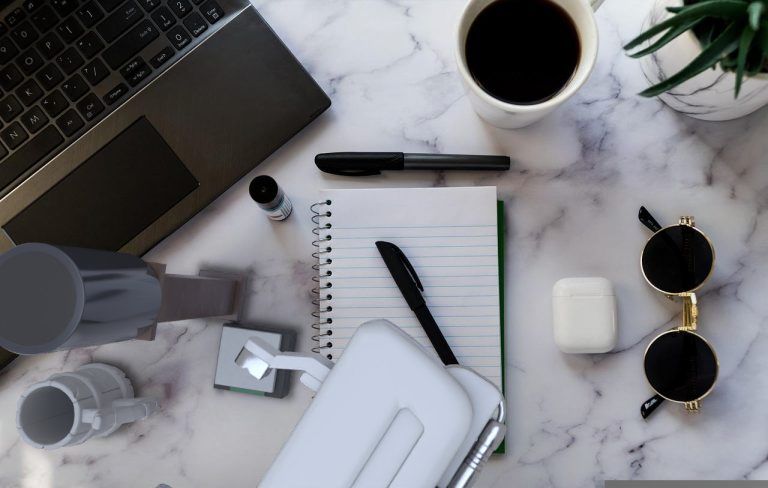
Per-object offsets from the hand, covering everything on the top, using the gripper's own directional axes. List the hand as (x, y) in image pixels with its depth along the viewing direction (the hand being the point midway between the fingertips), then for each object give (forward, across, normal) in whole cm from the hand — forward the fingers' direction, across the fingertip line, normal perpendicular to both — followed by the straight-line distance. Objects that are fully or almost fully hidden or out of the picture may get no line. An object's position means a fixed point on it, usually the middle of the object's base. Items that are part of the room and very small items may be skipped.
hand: (196, 422), depth 34 cm
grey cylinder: (+12, 0, +11) cm, 16 cm away
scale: (+5, +4, +33) cm, 33 cm away
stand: (+12, 0, +33) cm, 35 cm away
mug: (+15, +15, +33) cm, 39 cm away
